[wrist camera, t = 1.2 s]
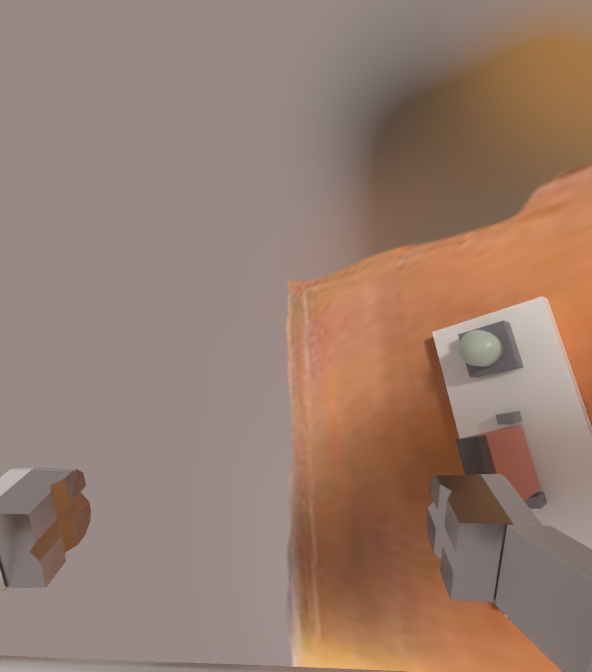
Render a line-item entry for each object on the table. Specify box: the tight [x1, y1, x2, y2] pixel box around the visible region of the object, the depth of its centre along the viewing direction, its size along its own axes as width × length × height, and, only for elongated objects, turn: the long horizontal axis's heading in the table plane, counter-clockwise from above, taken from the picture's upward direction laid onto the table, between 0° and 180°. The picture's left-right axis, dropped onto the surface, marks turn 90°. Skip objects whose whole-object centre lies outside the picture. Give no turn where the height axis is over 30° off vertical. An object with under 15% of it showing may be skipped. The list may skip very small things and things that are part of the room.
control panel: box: [432, 296, 592, 617], centre depth 39 cm, size 12×30×4 cm, turn 14°
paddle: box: [456, 425, 541, 501], centre depth 35 cm, size 2×6×12 cm, turn 14°
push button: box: [459, 330, 503, 367], centre depth 40 cm, size 4×4×2 cm
